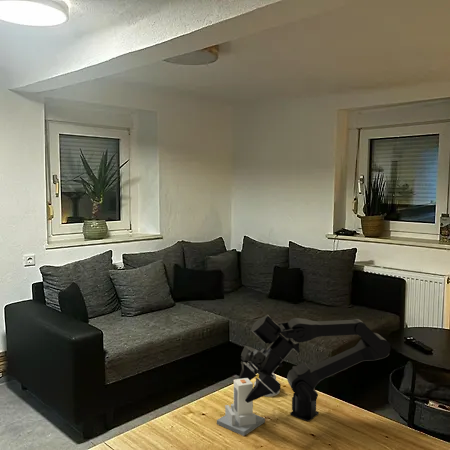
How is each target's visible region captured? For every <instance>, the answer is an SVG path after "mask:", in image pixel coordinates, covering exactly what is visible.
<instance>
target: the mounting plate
mask: <svg viewBox="0 0 450 450" xmlns="http://www.w3.org/2000/svg"><path fill="white" fill-rule="evenodd" d="M224 412H225V415H223V416H221V417H220V418H218V419H216V425H218V426H220V427H223V428H224V429H226V430H229V431H231V432H234V433H236V434H239V435H240V436H242V437H244V436H246V435H247V434H249V433H251V432H252V431H253V430H255V429H257V428H259V427H260V426H261V425H263V424H264V423H266V418H265V417H262V416H260V415H257V414H256V413H254V412H253V414H247V415H241V416H239V423H238V421H237V420H236V418H235V414H234V403H231V404H230V405H229V404H225V405H224Z"/></svg>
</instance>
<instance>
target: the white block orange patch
mask: <svg viewBox="0 0 450 450" xmlns="http://www.w3.org/2000/svg"><path fill="white" fill-rule="evenodd" d="M253 387H254V383H253V381H251V380H249V379H248V378H243V379H238V378H236V379H233V404H234V414H235V418H236V420H237V421H238V423H239V416H241V415H247V414H253V413H254V408H253V407H254V400H253V401H251V402H249V403H247V402H246V401H245V399H246V398H247V396H248V395H249V393H250V392H251V390H252V389H253Z"/></svg>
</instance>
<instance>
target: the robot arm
mask: <svg viewBox="0 0 450 450" xmlns="http://www.w3.org/2000/svg"><path fill="white" fill-rule="evenodd" d="M250 330H251V331H250V332H252V333H253V334H254V335H255V336H256V337H257V338H258V339H259V340H260V341H262V342H263V343H264V344H269V346H268V347H267V348H266V347H263V348H262V349H261V350H259V349H257V348H254V347H251V346H248V345H244V347H243V349H242V351H241V355H240V356H241V357H240V359H241V361H240V364H241V370H240V374H239V376H238V378H237V379H243V378H248V379H249V380H250V381H251V380H253V379H254V378H255V381H256V384H255V386H254V385H253V389H252V390H251V392H250V393H249V395H248V396H247V398H246V399H245V401H246V402H247V403H249V402H251V401H253V402H254V401H255V400H257V399H260V398H263V397H266V396H265V395H268V394H273V392H274V393H275V394H277V393H278V391H279V390H281V383H280V382H279V381H278V380H277V379H276V380H275V379H274V378H273V376H274V375H273V374H272V373H274V372H275V371H276V370H277V368H278V367H279V368H282V367H283V366H284V364H283V363H282V362H283V361H284V360H285V359H286V358H287V356H288V355H289V354H291V352H292V351H295V352H296V353H298V354H299V353H300V351H301V350H300V343H305V342H309V341H312V340H314V339H317V338H320V337H335V336H353V335H354V336H358V337H360V340H359V341H358V342H357V343H356V345H355V346H352V347H351V348H348V349H346V350H344V351H342V352H340V353H337V354H336V355H333V356H331V357H329V358H327V359H324V360H322V361H320V362H318V363H315V364H312V365H308V364H307V363H306V362H305V361H303V362H301V363H299V364H297V365H292V368H291V369H289V371H288V373H287V376H286V380H287V383H288V384H289V386H290V388H291V390H292V392H293V393H292V395H293V396H292V398H291V412H289V414H290V416H291V417H295V418H297V419H300V420H303V421H306V422H310V421H311V420H313V419H314V418H315V417H317V416H318V415H319V411H318V410H317V399H318V398H319V397H318V396H319V394H318V392H317V390H316V389H315V388H316V386H318V384H319V383H320V382H321V381H323V380H324V379H326V378H329V377H331V376H334V375H335V374H338V373H339V372H342V371H345V370H347V369H348V368H351V367H353V366H355V365H358V364H359V363H362V362H366V361H367V362H370V361H377V360H382V359H385V358H387V357H388V356H389V355H390V353H391V348H392V347H391V344H390V342H389V341H388V340H387V339H386V338H384V337H383V336H382V335H380V334H379V333H377V332H373V331H372V330H371V329H370V328H369V327H368V326H367V324H366V323H364V322H363V321H362V320H361V319H359V318H354V319H344V320H340V319H339V320H322V321H318V320H317V321H316V320H311V319H307V318H301V317H294V318H291V319H290V320H288V321H285V322H279V323H276V322H275V321H274V320H273V318H271V316H270V315H269V314H266V315H265V316H262V317H261V318H259V319H257V320H256V321H255V322H254V323H253V325H252V327H251V329H250ZM257 376H258V377H257ZM259 379H260V380H261V381H260V380H259ZM277 381H278V382H279V383H278V382H277ZM272 391H273V392H272ZM277 395H278V394H277Z"/></svg>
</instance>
